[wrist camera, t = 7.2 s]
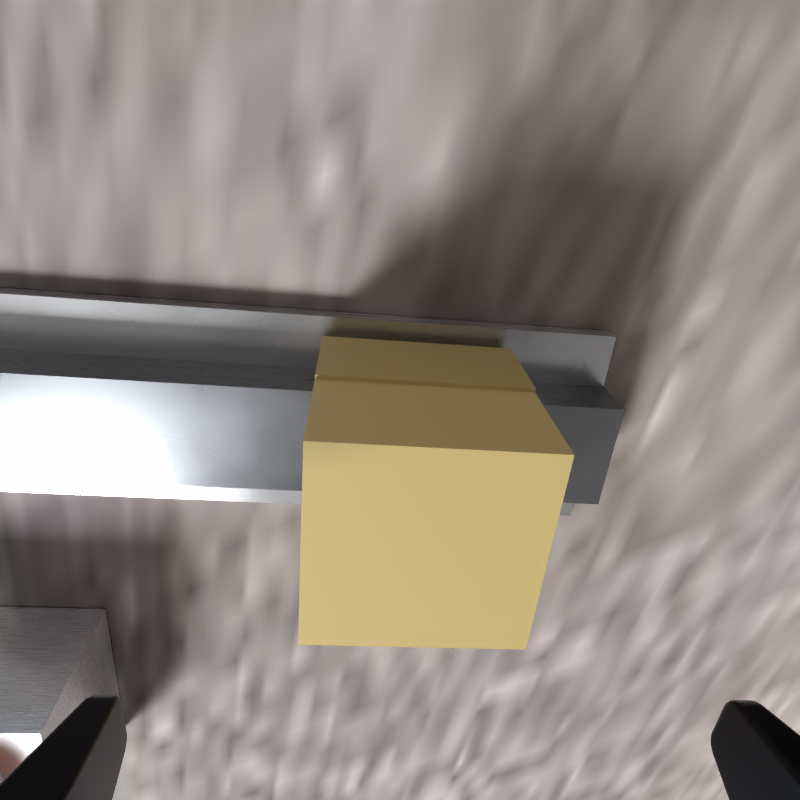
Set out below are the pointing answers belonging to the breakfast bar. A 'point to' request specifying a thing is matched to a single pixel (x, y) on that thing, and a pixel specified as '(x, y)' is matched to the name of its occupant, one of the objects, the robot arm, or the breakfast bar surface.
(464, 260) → the breakfast bar surface
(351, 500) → the carriage
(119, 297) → the rail
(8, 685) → the cabinet
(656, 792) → the breakfast bar surface
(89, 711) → the robot arm
